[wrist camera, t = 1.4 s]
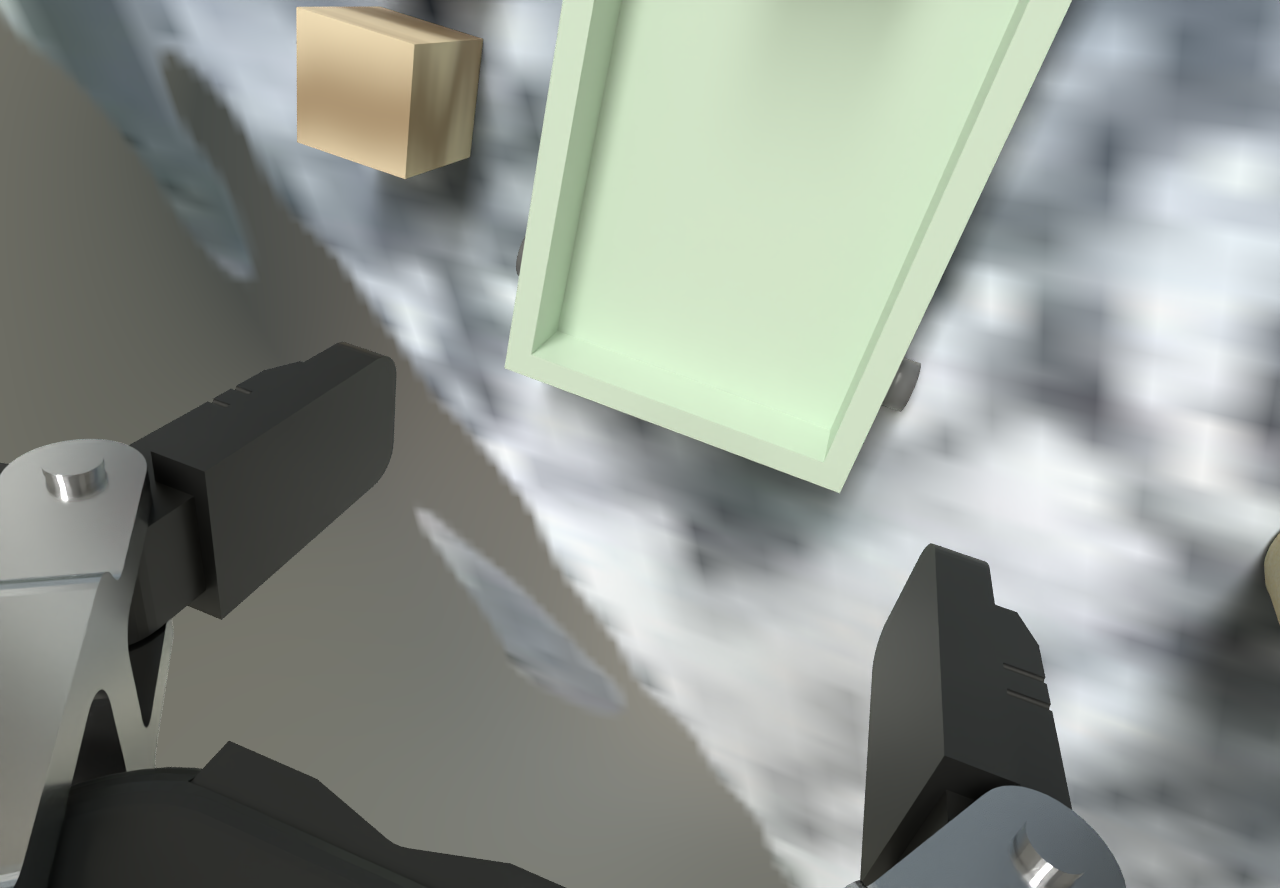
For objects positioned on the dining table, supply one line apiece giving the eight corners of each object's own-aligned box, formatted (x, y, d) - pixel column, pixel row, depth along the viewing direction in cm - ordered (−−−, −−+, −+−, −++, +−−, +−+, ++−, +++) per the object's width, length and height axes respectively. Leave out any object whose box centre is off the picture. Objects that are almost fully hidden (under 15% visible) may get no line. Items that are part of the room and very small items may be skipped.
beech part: (380, 6, 31) (296, 7, 27) (483, 38, 30) (414, 44, 26) (375, 124, 33) (297, 142, 29) (470, 156, 33) (405, 178, 28)
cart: (676, -589, 21) (624, -720, 17) (1319, -469, 19) (1419, -587, 15) (524, 320, 35) (477, 358, 32) (875, 448, 33) (870, 504, 29)
